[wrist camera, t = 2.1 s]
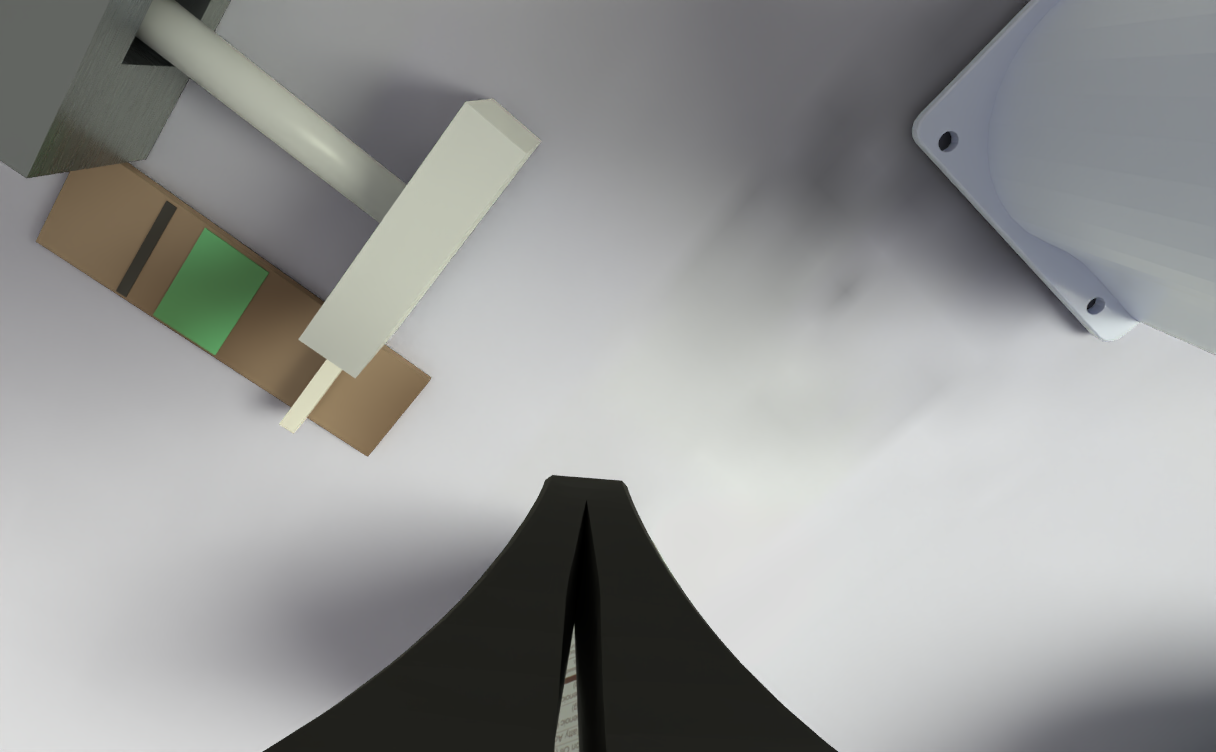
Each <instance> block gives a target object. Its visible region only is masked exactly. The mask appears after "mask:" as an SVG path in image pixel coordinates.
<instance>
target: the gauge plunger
mask: <svg viewBox="0 0 1216 752" xmlns="http://www.w3.org/2000/svg"><path fill="white" fill-rule="evenodd" d="M135 36H136V37H137V38H139V39H140V40H141V41H143V42H144V43H145V44H146V45H148V46H149V47H150V48H152V49H153V50H154V51H156V52H157V53H158V54H160V55H161V56H162V57H163V58H165V59H166V60H167V61H169V62H170V63H171V64H173V65H174V66H175V67H176V68H178V69H179V70H180V71H182V72H183V73H184V74H186V75H187V76H188V77H190V78H191V79H192V80H193V81H195V82H196V83H197V84H199V85H200V86H201V87H203V88H204V89H205V90H206V91H208V92H209V93H210V94H212V95H213V96H214V97H216V98H217V99H218V100H220V101H221V102H222V103H223V104H225V105H226V106H227V107H229V108H230V109H231V110H233V111H234V112H235V113H237V114H238V115H239V116H240V117H242V118H243V119H244V120H246V121H247V122H248V123H250V124H251V125H252V126H253V127H255V128H256V129H257V130H259V131H260V132H261V133H263V134H264V135H265V136H267V137H268V138H269V139H270V140H272V141H273V142H274V143H276V144H277V145H278V146H280V147H281V148H282V149H283V150H285V151H286V152H287V153H289V154H290V155H291V156H293V157H294V158H295V159H297V160H298V161H299V162H300V163H302V164H303V165H304V166H306V167H307V168H308V169H310V170H311V171H312V172H314V173H315V174H316V175H317V176H319V177H320V178H321V179H323V180H324V181H325V182H327V183H328V184H329V185H330V186H332V187H333V188H334V189H336V190H337V191H338V192H340V193H341V194H342V195H344V196H345V197H346V198H347V199H349V200H350V201H351V202H353V203H354V204H355V205H357V206H358V207H359V208H360V209H362V210H363V211H364V212H366V213H367V214H368V215H370V216H371V217H372V218H374V219H375V220H376V221H377V222H379V223H380V224H379V225H378V227H377V228H376V230H375V231H374V233H373V234H372V235H371V237H370V238H369V240H368V241H367V242H366V244H365V245H364V247H363V248H362V250H361V251H360V252H359V254H358V255H357V257H356V258H355V260H354V261H353V262H352V264H351V265H350V267H349V268H348V270H347V271H346V272H345V274H344V275H343V277H342V278H341V279H340V281H339V282H338V284H337V285H336V287H335V288H334V289H333V291H332V292H331V294H330V295H329V297H328V298H327V299H326V301H325V302H324V304H323V305H322V307H321V308H320V309H319V311H318V312H317V314H316V315H315V316H314V318H313V319H312V321H311V322H310V324H309V325H308V326H307V328H306V329H305V331H304V332H303V334H302V335H301V336H300V338H299V339H298V340H300V341H301V342H302V343H304V344H305V345H307V346H308V347H310V348H311V349H313V350H314V351H316V352H317V353H319V354H320V355H322V356H323V357H324V358H326V359H327V360H326V361H325V362H324V364H323V365H322V366H321V368H320V369H319V370H318V372H317V373H316V375H315V376H314V377H313V379H312V380H311V381H310V383H309V384H308V385H307V387H306V388H305V390H304V391H303V392H302V394H301V395H300V396H299V398H298V399H297V401H296V402H295V403H294V405H293V406H292V407H291V409H290V410H289V411H288V413H287V414H286V416H285V417H284V418H283V420H282V421H281V422H280V424H279V425H281V426H282V427H284V428H285V429H287V430H289V431H290V432H292V433H293V434H294V433H295V431H296V430H297V429H298V428H299V427H300V426H301V425H302V424H303V422H304V421H305V420H306V418H307V417H308V416H309V414H310V413H311V412H312V410H313V409H314V408H315V406H316V405H317V404H318V402H319V401H320V400H321V398H322V397H323V395H324V394H325V393H326V391H327V390H328V389H329V387H330V386H331V385H332V383H333V382H334V381H335V379H336V378H337V377H338V375H339V374H340V373H341V371H342V370H343V371H345V372H346V373H348V374H349V375H351V376H352V377H354V378H356V377H357V376H358V375H359V374H360V372H361V371H362V370H363V369H364V368H365V367H366V365H367V364H368V363H369V362H370V361H371V360H372V358H373V357H374V356H375V355H376V354H377V353H378V351H379V350H380V349H381V348H382V347H383V346H384V344H385V343H386V342H387V341H388V340H389V339H390V338H391V336H392V335H393V334H394V333H395V332H396V331H397V329H398V328H399V327H400V325H401V324H402V323H403V322H404V320H405V319H406V318H407V316H408V315H409V314H410V312H411V311H412V310H413V308H414V307H415V306H416V305H417V303H418V302H419V301H420V299H421V298H422V297H423V295H424V294H425V293H426V292H427V290H428V289H429V288H430V286H431V285H432V284H433V282H434V281H435V280H436V278H437V277H438V276H439V275H440V273H441V272H442V271H443V269H444V268H445V267H446V265H447V264H448V263H449V261H450V260H451V259H452V258H453V256H454V255H455V254H456V252H457V251H458V250H459V248H460V247H461V246H462V244H463V243H464V242H465V241H466V239H467V238H468V237H469V235H470V234H471V233H472V231H473V230H474V229H475V227H476V226H477V225H478V224H479V222H480V221H481V220H482V218H483V217H484V216H485V214H486V213H487V212H488V210H489V209H490V208H491V207H492V205H493V204H494V203H495V201H496V200H497V199H498V197H499V196H500V195H501V193H502V192H503V191H504V190H505V188H506V187H507V186H508V184H509V183H510V182H511V180H512V179H513V178H514V176H515V175H516V174H517V173H518V171H519V170H520V169H521V167H522V166H523V165H524V163H525V162H526V161H527V159H528V158H529V157H530V156H531V154H532V153H533V152H534V150H535V149H536V148H537V146H538V145H539V144H540V142H541V140H540V139H539V138H538V137H536V136H535V135H534V134H533V133H532V132H531V131H530V130H528V129H527V128H526V127H525V126H524V125H523V124H522V123H520V122H519V121H518V120H517V119H516V118H515V117H514V116H512V115H511V114H510V113H509V112H508V111H507V110H506V109H504V108H503V107H502V106H501V105H500V104H499V103H498V102H496V101H495V100H494V99H485V100H475V101H466V102H465V103H464V105H463V106H462V107H461V109H460V110H459V112H458V113H457V114H456V116H455V117H454V119H453V120H452V122H451V123H450V124H449V126H448V127H447V129H446V130H445V132H444V133H443V134H442V136H441V137H440V139H439V140H438V141H437V143H436V144H435V146H434V147H433V149H432V150H431V151H430V153H429V154H428V156H427V157H426V159H425V160H424V161H423V163H422V164H421V166H420V167H419V169H418V170H417V171H416V173H415V174H414V176H413V177H412V178H411V180H410V181H409V183H408V184H407V185H406V184H405V183H404V182H403V181H401V180H400V179H399V178H398V177H396V176H395V175H394V174H392V173H391V172H390V171H389V170H387V169H386V168H385V167H384V166H382V165H381V164H380V163H379V162H377V161H376V160H375V159H374V158H372V157H371V156H370V155H369V154H367V153H366V152H365V151H364V150H362V149H361V148H360V147H359V146H357V145H356V144H355V143H354V142H352V141H351V140H350V139H348V138H347V137H346V136H345V135H343V134H342V133H341V132H340V131H338V130H337V129H336V128H335V127H333V126H332V125H331V124H330V123H328V122H327V121H326V120H325V119H323V118H322V117H321V116H320V115H318V114H317V113H316V112H315V111H313V110H312V109H311V108H309V107H308V106H307V105H306V104H304V103H303V102H302V101H301V100H299V99H298V98H297V97H296V96H294V95H293V94H292V93H291V92H289V91H288V90H287V89H286V88H284V87H283V86H282V85H281V84H279V83H278V82H277V81H276V80H274V79H273V78H272V77H271V76H269V75H268V74H267V73H265V72H264V71H263V70H262V69H260V68H259V67H258V66H257V65H255V64H254V63H253V62H252V61H250V60H249V59H248V58H247V57H245V56H244V55H243V54H242V53H240V52H239V51H238V50H237V49H235V48H234V47H233V46H232V45H230V44H229V43H228V42H227V41H225V40H224V39H223V38H221V37H220V36H219V35H218V34H216V33H215V32H214V31H213V30H211V29H210V28H209V27H208V26H206V25H205V24H204V23H203V22H201V21H200V20H199V19H198V18H196V17H195V16H194V15H193V14H191V13H190V12H189V11H188V10H186V9H185V8H184V7H183V6H181V5H180V4H179V3H177V2H176V1H175V0H152V3H151V5H150V7H149V9H148V11H147V13H146V15H145V17H144V19H143V21H142V23H141V25H140V27H139V29H138V31H137V33H136V35H135Z"/></svg>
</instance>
